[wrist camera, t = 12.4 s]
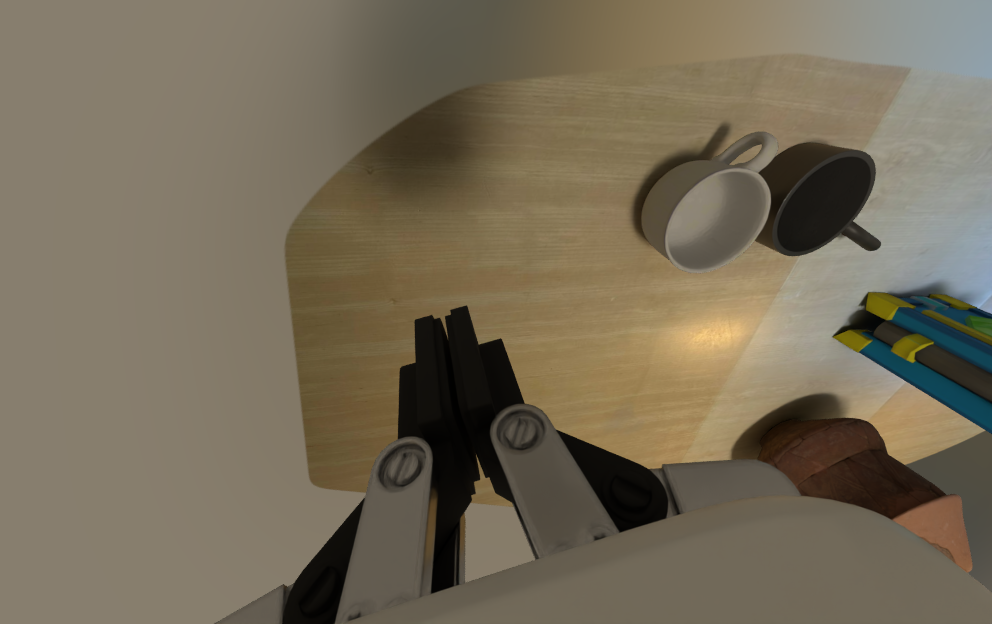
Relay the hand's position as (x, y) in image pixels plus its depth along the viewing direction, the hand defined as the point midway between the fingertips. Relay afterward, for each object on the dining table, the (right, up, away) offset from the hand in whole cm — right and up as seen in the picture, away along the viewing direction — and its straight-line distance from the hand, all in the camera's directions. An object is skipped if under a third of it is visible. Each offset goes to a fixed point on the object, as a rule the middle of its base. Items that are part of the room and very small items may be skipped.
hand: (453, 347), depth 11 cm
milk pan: (+41, +15, +34) cm, 56 cm away
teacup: (+23, +15, +29) cm, 40 cm away
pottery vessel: (+66, -26, +68) cm, 99 cm away
